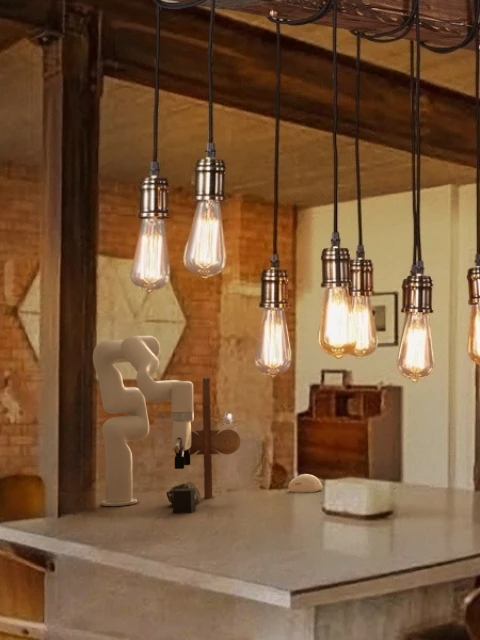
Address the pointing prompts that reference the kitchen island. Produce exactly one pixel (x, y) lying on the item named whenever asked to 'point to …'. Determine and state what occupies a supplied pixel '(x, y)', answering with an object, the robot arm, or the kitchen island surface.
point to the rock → (183, 486)
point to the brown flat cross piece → (211, 440)
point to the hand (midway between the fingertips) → (182, 466)
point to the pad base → (184, 509)
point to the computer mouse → (305, 484)
